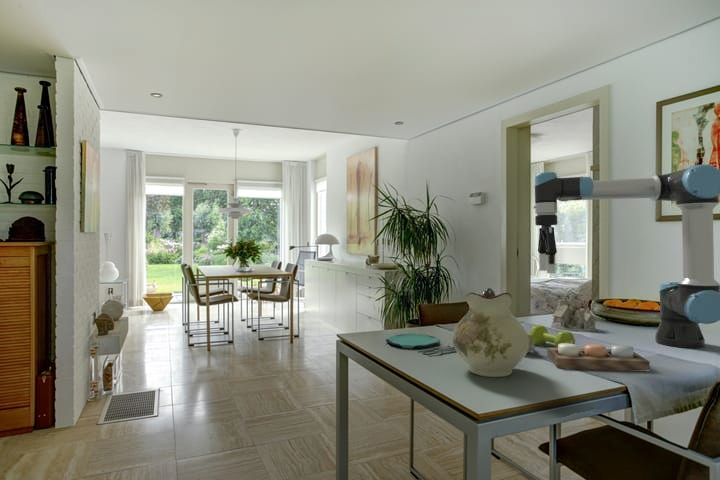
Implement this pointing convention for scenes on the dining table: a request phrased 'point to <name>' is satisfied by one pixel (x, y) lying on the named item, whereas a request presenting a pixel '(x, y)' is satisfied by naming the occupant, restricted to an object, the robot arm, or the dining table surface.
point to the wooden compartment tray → (598, 361)
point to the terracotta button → (595, 350)
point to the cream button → (568, 349)
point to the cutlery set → (418, 342)
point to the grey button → (622, 351)
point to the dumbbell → (550, 336)
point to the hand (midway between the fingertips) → (547, 272)
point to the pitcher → (490, 335)
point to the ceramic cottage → (573, 317)
